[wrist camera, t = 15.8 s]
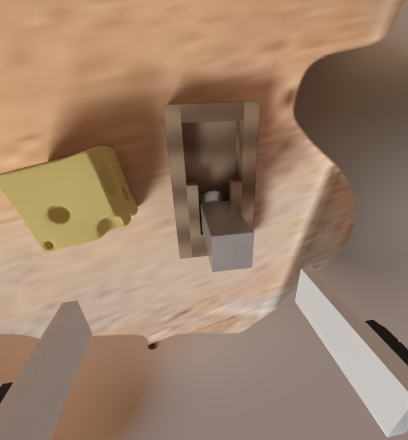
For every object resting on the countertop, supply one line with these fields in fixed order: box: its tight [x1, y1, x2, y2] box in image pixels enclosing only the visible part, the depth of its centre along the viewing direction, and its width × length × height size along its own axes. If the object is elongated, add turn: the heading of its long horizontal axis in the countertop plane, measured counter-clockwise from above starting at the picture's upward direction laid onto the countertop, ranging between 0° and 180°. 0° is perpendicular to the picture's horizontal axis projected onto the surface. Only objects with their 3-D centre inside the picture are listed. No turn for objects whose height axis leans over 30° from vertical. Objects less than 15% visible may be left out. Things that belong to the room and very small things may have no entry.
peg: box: [198, 189, 254, 272], centre depth 28 cm, size 6×6×14 cm
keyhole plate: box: [163, 101, 260, 259], centre depth 32 cm, size 22×12×4 cm, turn 3°
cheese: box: [0, 146, 138, 253], centre depth 27 cm, size 10×11×10 cm
